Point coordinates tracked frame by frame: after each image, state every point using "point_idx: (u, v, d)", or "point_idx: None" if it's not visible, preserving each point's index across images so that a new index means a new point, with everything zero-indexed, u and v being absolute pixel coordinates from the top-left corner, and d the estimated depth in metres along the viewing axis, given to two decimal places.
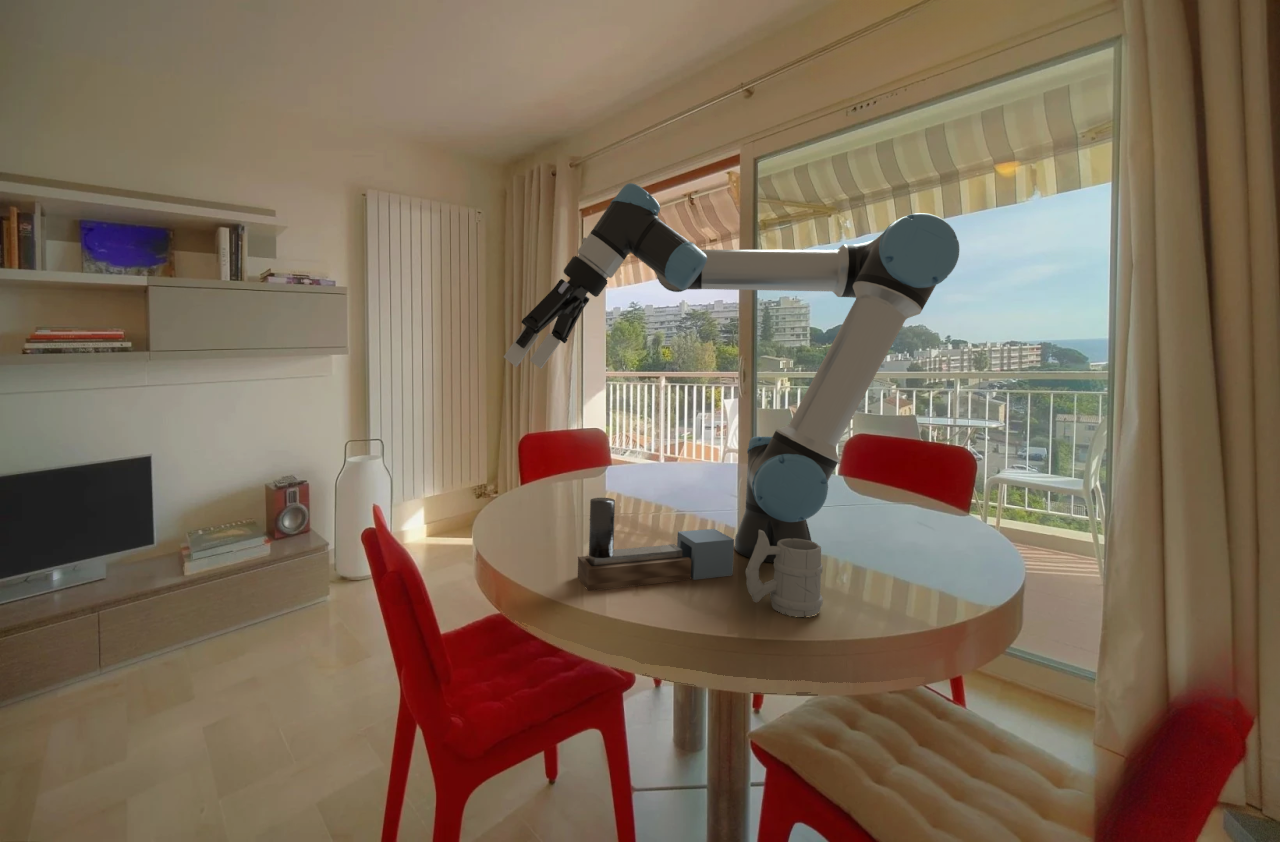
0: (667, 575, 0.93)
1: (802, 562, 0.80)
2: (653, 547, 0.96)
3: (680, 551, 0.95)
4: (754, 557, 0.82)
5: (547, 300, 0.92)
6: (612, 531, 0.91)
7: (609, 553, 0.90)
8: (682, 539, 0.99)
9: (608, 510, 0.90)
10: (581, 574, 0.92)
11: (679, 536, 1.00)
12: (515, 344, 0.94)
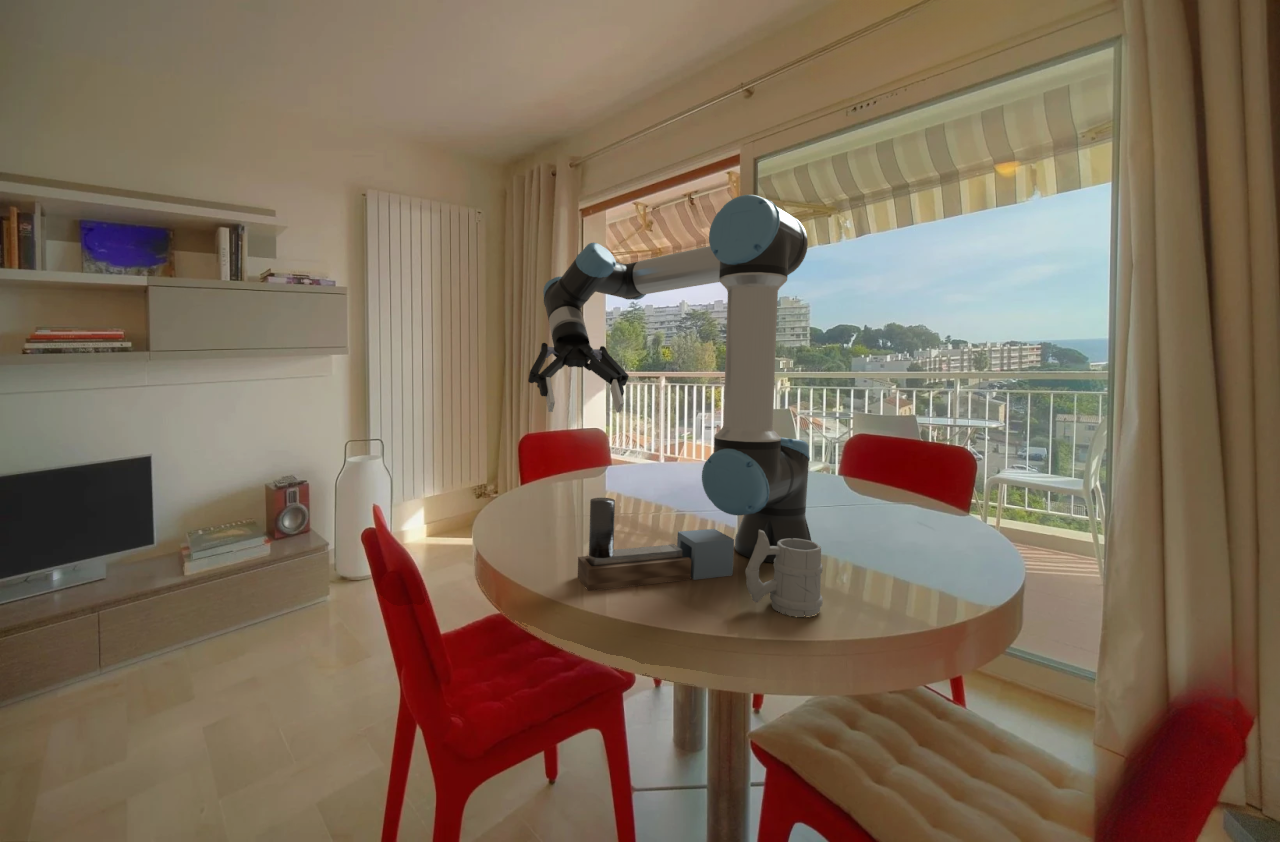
0: (667, 575, 0.93)
1: (802, 562, 0.80)
2: (653, 547, 0.96)
3: (680, 551, 0.95)
4: (754, 557, 0.82)
5: None
6: (612, 531, 0.91)
7: (609, 553, 0.90)
8: (682, 539, 0.99)
9: (608, 510, 0.90)
10: (581, 574, 0.92)
11: (679, 536, 1.00)
12: (546, 398, 1.07)
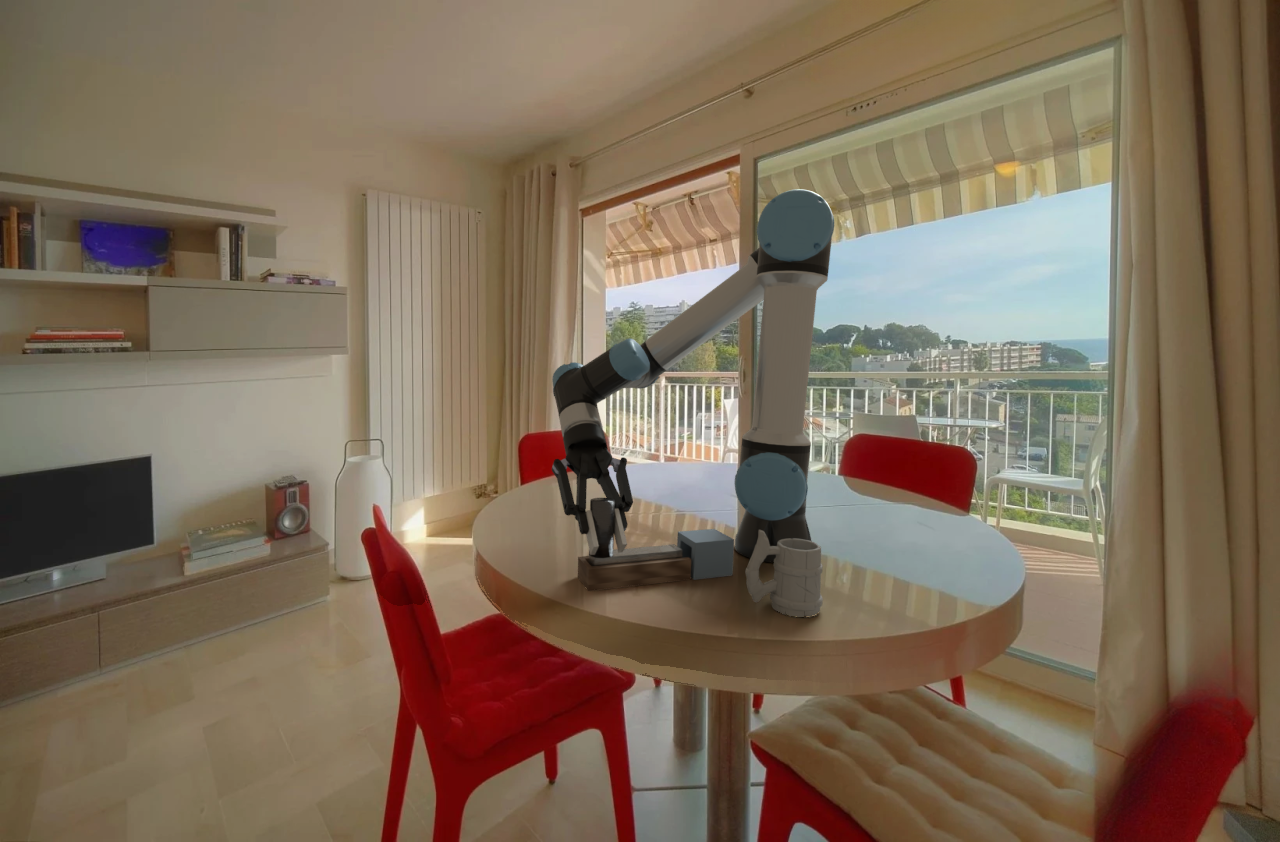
0: (667, 575, 0.93)
1: (802, 562, 0.80)
2: (653, 547, 0.96)
3: (680, 551, 0.95)
4: (754, 557, 0.82)
5: (560, 487, 0.94)
6: (612, 531, 0.91)
7: (609, 553, 0.90)
8: (682, 539, 0.99)
9: (608, 510, 0.90)
10: (581, 574, 0.92)
11: (679, 536, 1.00)
12: (587, 536, 0.89)
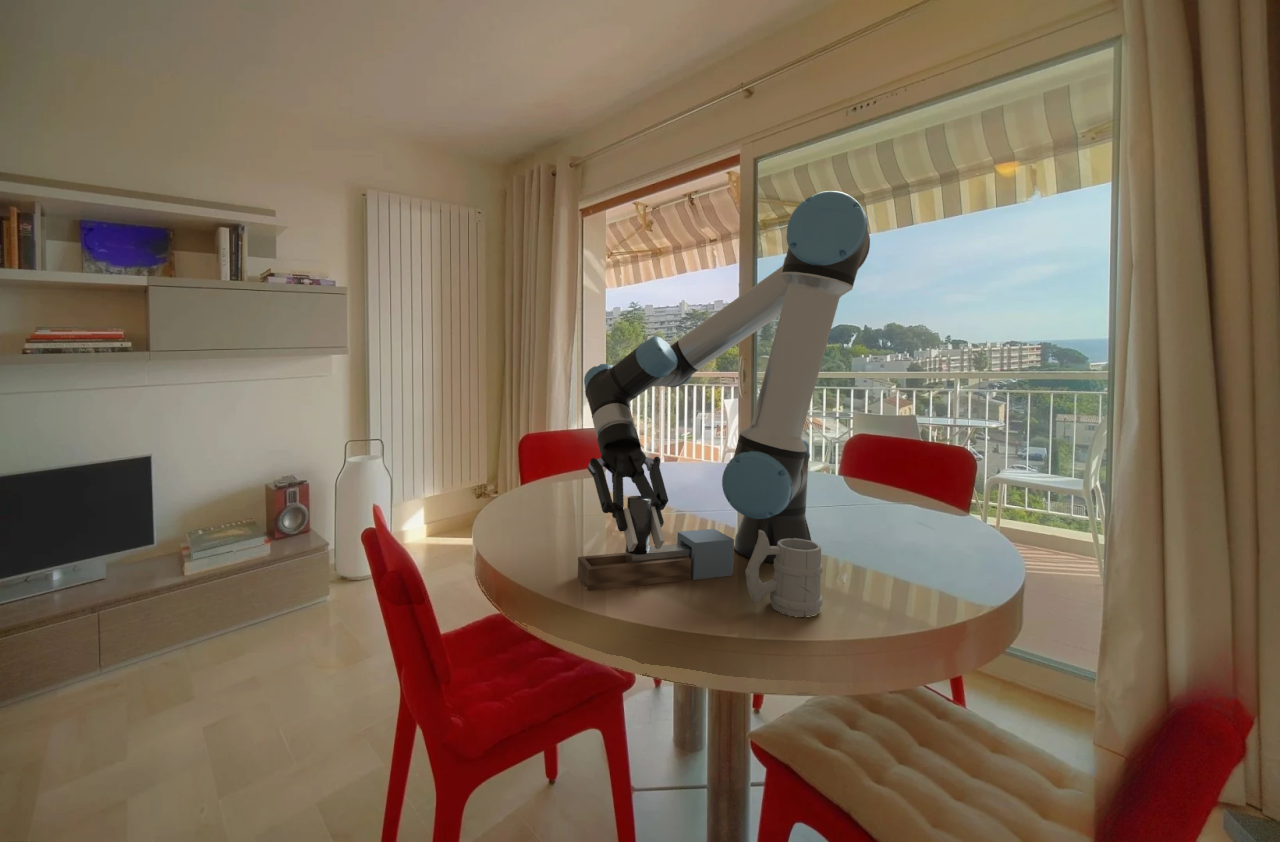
0: (667, 575, 0.93)
1: (802, 562, 0.80)
2: None
3: None
4: (754, 557, 0.82)
5: (597, 485, 0.96)
6: (649, 528, 0.93)
7: (646, 550, 0.93)
8: (682, 539, 0.99)
9: (646, 508, 0.92)
10: (581, 574, 0.92)
11: (679, 536, 1.00)
12: (625, 533, 0.92)
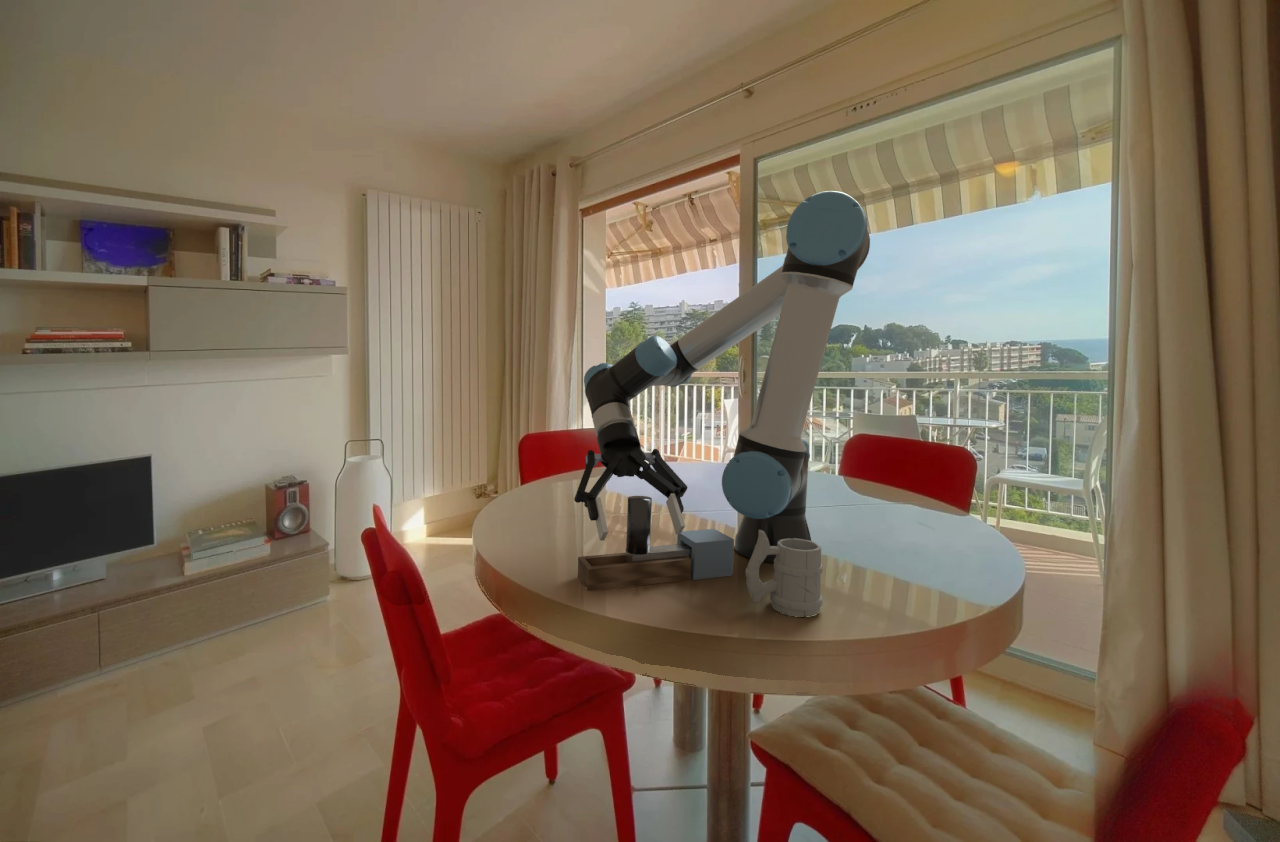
0: (667, 575, 0.93)
1: (802, 562, 0.80)
2: None
3: None
4: (754, 557, 0.82)
5: None
6: (649, 528, 0.93)
7: (646, 550, 0.93)
8: (682, 539, 0.99)
9: (646, 508, 0.92)
10: (581, 574, 0.92)
11: (679, 536, 1.00)
12: (596, 523, 0.92)
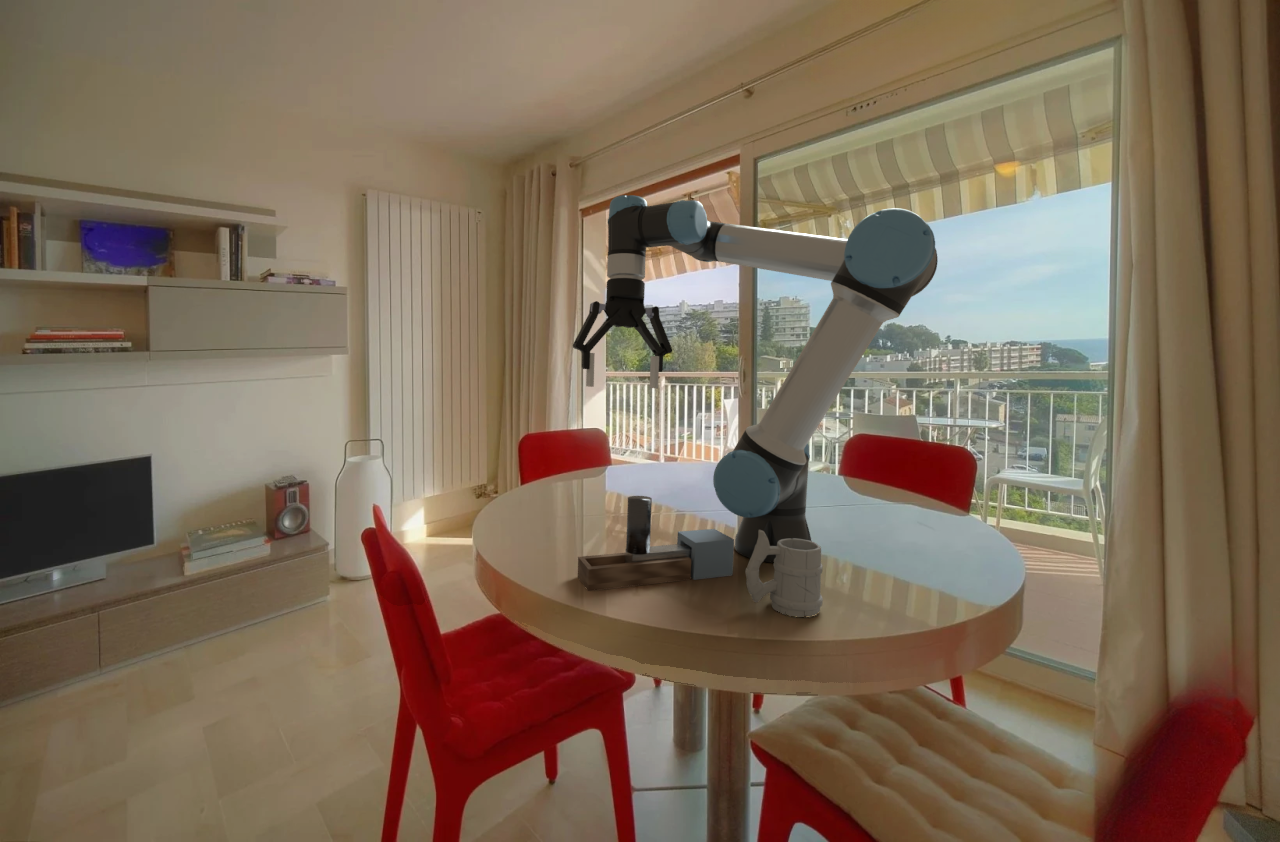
0: (667, 575, 0.93)
1: (802, 562, 0.80)
2: None
3: None
4: (754, 557, 0.82)
5: (584, 323, 1.08)
6: (649, 528, 0.93)
7: (646, 550, 0.93)
8: (682, 539, 0.99)
9: (646, 508, 0.92)
10: (581, 574, 0.92)
11: (679, 536, 1.00)
12: (587, 371, 1.10)
